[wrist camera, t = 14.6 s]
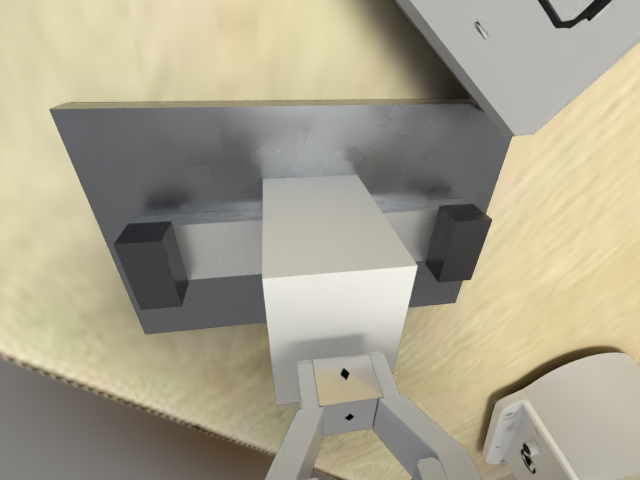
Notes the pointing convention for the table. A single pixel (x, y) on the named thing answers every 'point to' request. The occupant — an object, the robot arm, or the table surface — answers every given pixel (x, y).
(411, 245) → the din board
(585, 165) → the table surface
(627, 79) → the table surface
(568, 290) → the table surface
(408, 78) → the table surface
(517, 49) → the electrical switch
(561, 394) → the robot arm
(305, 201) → the din module
